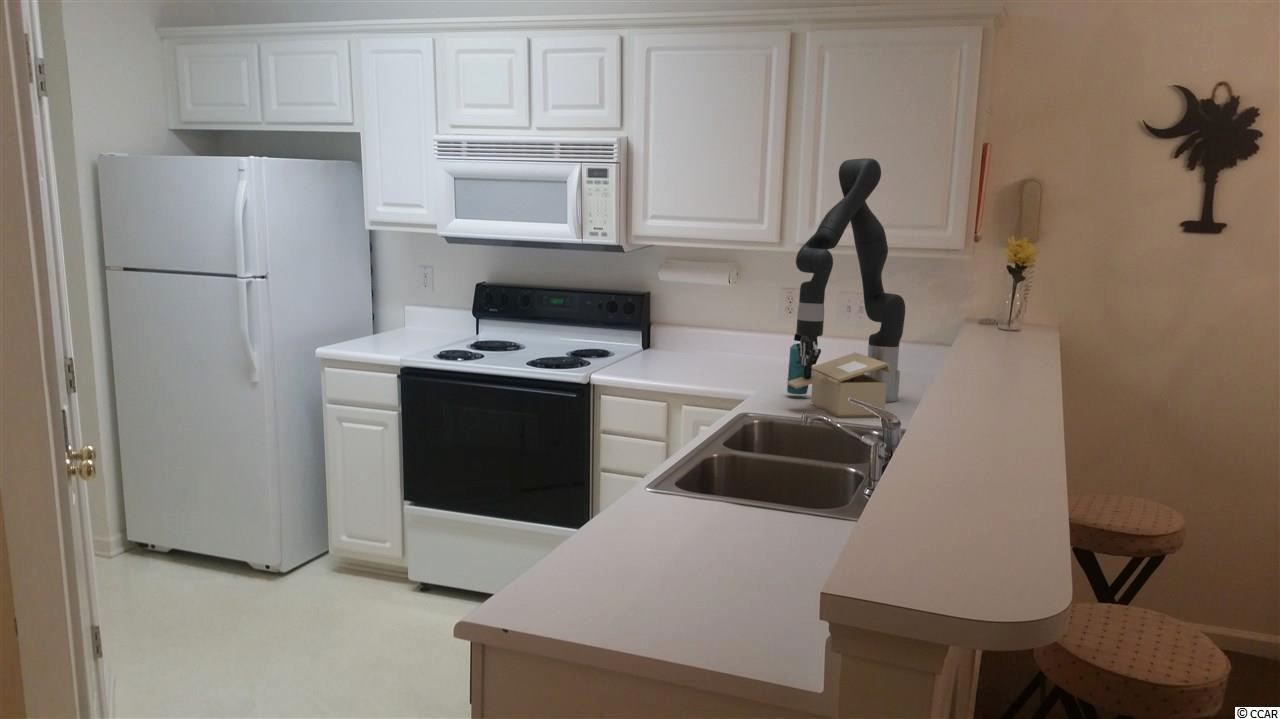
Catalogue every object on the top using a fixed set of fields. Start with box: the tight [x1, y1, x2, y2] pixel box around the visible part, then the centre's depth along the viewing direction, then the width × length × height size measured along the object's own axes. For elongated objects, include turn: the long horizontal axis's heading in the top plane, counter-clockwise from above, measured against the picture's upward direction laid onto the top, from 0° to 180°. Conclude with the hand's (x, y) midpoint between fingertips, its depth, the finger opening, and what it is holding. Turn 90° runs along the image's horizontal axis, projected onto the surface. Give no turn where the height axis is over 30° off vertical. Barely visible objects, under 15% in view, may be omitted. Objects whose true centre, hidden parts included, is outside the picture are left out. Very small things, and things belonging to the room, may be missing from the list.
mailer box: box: [810, 373, 887, 419], centre depth 275 cm, size 14×20×10 cm
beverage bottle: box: [786, 333, 809, 395], centre depth 292 cm, size 6×7×20 cm
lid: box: [786, 352, 891, 389], centre depth 274 cm, size 26×21×3 cm
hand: (806, 378), depth 272 cm, fingers closed
